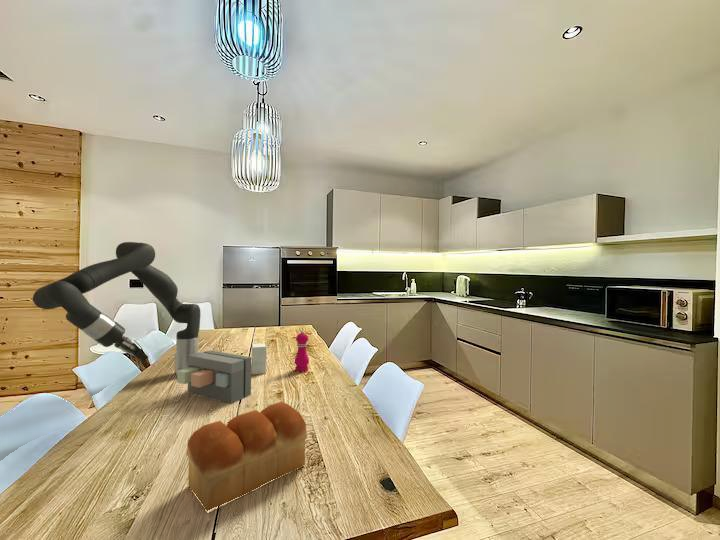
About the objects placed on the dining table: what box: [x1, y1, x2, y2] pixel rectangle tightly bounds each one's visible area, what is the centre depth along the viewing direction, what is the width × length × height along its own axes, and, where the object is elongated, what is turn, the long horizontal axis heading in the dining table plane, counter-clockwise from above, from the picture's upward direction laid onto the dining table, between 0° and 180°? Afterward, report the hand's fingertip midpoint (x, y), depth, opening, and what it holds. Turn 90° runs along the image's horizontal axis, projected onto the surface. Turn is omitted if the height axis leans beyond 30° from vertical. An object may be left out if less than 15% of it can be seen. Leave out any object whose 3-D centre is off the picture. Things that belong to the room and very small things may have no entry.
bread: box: [185, 401, 308, 511], centre depth 80 cm, size 25×12×15 cm, turn 135°
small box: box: [251, 342, 267, 376], centre depth 160 cm, size 8×6×13 cm
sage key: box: [176, 366, 200, 385], centre depth 128 cm, size 4×8×4 cm, turn 155°
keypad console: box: [187, 349, 252, 405], centre depth 131 cm, size 24×10×15 cm, turn 65°
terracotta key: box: [191, 369, 214, 388], centre depth 125 cm, size 4×8×4 cm, turn 155°
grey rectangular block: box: [216, 372, 229, 387], centre depth 125 cm, size 4×8×4 cm, turn 155°
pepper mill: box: [294, 329, 310, 372], centre depth 164 cm, size 7×7×20 cm
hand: (145, 359), depth 115 cm, fingers closed
